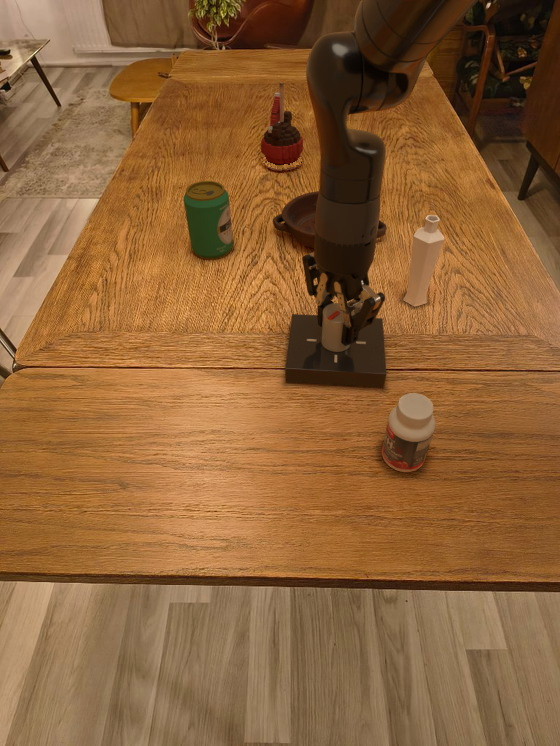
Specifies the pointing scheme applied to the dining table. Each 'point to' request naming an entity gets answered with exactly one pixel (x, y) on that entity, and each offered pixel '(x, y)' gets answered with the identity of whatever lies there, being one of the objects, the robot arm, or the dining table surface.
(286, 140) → the cake
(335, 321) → the stove knob
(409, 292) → the perfume bottle
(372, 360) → the black dial box
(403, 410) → the pill bottle
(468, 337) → the dining table surface
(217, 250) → the beverage can
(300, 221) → the dish
